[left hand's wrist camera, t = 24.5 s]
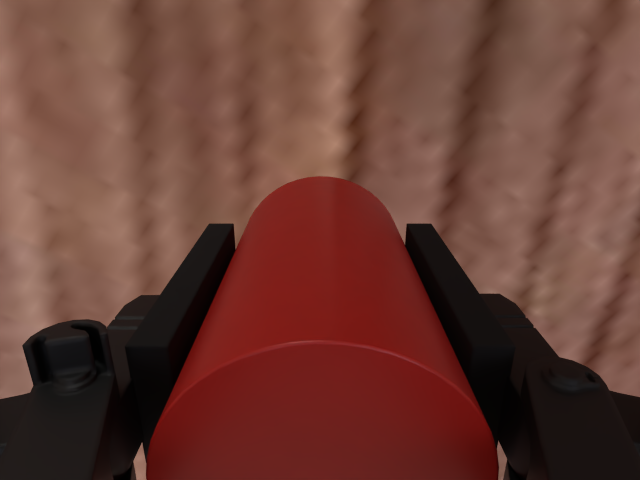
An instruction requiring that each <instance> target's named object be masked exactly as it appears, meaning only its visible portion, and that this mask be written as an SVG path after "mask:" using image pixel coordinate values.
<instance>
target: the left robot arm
mask: <svg viewBox="0 0 640 480" xmlns="http://www.w3.org/2000/svg"><path fill="white" fill-rule="evenodd" d="M405 247H406V249H407V251H408V253H409V255H410V257H411V260H412V262H413V264H414V266H415V268H416V270H417V272H418V275H419V277H420V279H421V281H422V283H423V285H424V288H425V290H426V292H427V294H428V296H429V298H430V301H431V303H432V305H433V307H434V309H435V311H436V313H437V316H438V318H439V320H440V322H441V324H442V326H443V329H444V331H445V333H446V335H447V337H448V339H449V341H450V344H451V346H452V348H453V350H454V352H455V354H456V357H457V359H458V361H459V363H460V365H461V367H462V370H463V372H464V374H465V376H466V378H467V380H468V382H469V385H470V387H471V389H472V391H473V393H474V395H475V398H476V400H477V402H478V404H479V406H480V408H481V410H482V413H483V415H484V417H485V419H486V421H487V423H488V426H489V428H490V430H491V432H492V435H493V439H494V442H495V445H496V449H497V445H498V440H499V442H500V444H501V447H502V449H503V451H504V453H505V455H506V457H507V463H506V468H505V473H504V478H503V480H640V397H636V396H631V395H626V394H621V393H617V392H613V391H609V389H608V387H607V385H606V384H605V382H604V381H603V380H602V379H601V377H600V376H599V375H598V374H596V373H595V372H594V371H592V370H591V369H589V368H588V367H586V366H584V365H582V364H579V363H577V362H575V361H572V360H568V359H564V358H560V357H559V356H558V355H557V354H556V353H555V352H554V350H553V349H552V348H551V347H550V345H549V344H548V343H547V342H546V340H545V339H544V338H543V337H542V336H541V334H540V333H539V332H538V331H537V329H536V328H534V327H533V324H532V323H531V322H530V321H529V320H528V318H526V317H525V315H524V313H523V312H522V311H521V310H520V308H519V307H518V306H517V305H516V304H515V303H514V302H512V301H510V300H509V299H507V298H505V297H504V296H502V295H501V294H479V293H478V291H477V290H476V288H475V287H474V285H473V284H472V282H471V281H470V280H469V278H468V277H467V275H466V274H465V272H464V271H463V269H462V268H461V266H460V265H459V264H458V262H457V261H456V259H455V258H454V256H453V255H452V253H451V252H450V250H449V249H448V248H447V246H446V245H445V243H444V242H443V240H442V239H441V237H440V236H439V234H438V233H437V232H436V230H435V229H434V227H433V226H432V224H407V227H406V241H405ZM234 253H235V237H234V224H209V225H208V226H207V228H206V229H205V231H204V232H203V233H202V235H201V236H200V238H199V239H198V241H197V242H196V244H195V245H194V247H193V248H192V249H191V251H190V252H189V254H188V255H187V257H186V258H185V260H184V261H183V263H182V264H181V265H180V267H179V268H178V270H177V271H176V273H175V274H174V276H173V277H172V278H171V280H170V281H169V283H168V284H167V286H166V287H165V289H164V290H163V292H162V293H161V294H160V295H141V296H139V297H137V298H136V299H134V300H133V301H131V302H129V303H128V304H126V305H125V306H124V307H123V308H122V309H121V311H120V312H119V313H118V314H117V316H116V317H115V320H113V321H112V322H111V323H110V324H109V326H108V327H107V328H106V326H105V325H103V324H102V323H101V322H99V321H94V320H89V319H87V320H72V321H67V322H62V323H58V324H55V325H53V326H50V327H47V328H45V329H42V330H41V331H39V332H38V333H36V334H34V335H33V336H31V337H30V338H29V339H28V340H27V341H26V342H25V343H24V344H23V345H22V346H23V350H24V353H25V357H26V360H27V364H28V367H29V371H30V374H31V378H32V382H33V385H34V386H33V388H32V390H31V392H30V393H27V394H23V395H19V396H14V397H9V398H4V399H0V480H136V474H135V468H134V463H133V460H134V458H135V456H136V454H137V452H138V449H139V447H140V445H141V443H143V448H144V454H145V459H146V463H147V454H148V449H149V445H150V440H151V438H152V435H153V433H154V430H155V428H156V426H157V423H158V421H159V419H160V417H161V414H162V412H163V410H164V408H165V406H166V403H167V401H168V399H169V397H170V394H171V392H172V390H173V388H174V386H175V383H176V381H177V379H178V377H179V374H180V372H181V370H182V368H183V366H184V363H185V361H186V359H187V357H188V355H189V352H190V350H191V348H192V346H193V343H194V341H195V339H196V337H197V335H198V332H199V330H200V328H201V326H202V324H203V321H204V319H205V317H206V315H207V312H208V310H209V308H210V306H211V304H212V301H213V299H214V297H215V295H216V293H217V290H218V288H219V286H220V284H221V281H222V279H223V277H224V275H225V273H226V270H227V268H228V266H229V264H230V262H231V259H232V257H233V255H234Z"/></svg>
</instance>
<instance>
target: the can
mask: <svg viewBox="0 0 640 480" xmlns="http://www.w3.org/2000/svg"><path fill="white" fill-rule="evenodd" d="M498 472H499V464H498V456H497V449H496V445H495V442H494V439H493V435H492V432H491V430H490V428H489V426H488V423H487V421H486V419H485V417H484V415H483V413H482V410H481V408H480V406H479V404H478V402H477V400H476V398H475V395H474V393H473V391H472V389H471V387H470V385H469V382H468V380H467V378H466V376H465V374H464V372H463V370H462V367H461V365H460V363H459V361H458V359H457V357H456V354H455V352H454V350H453V348H452V346H451V344H450V341H449V339H448V337H447V335H446V333H445V331H444V329H443V326H442V324H441V322H440V320H439V318H438V316H437V313H436V311H435V309H434V307H433V305H432V303H431V301H430V298H429V296H428V294H427V292H426V290H425V288H424V285H423V283H422V281H421V279H420V277H419V275H418V272H417V270H416V268H415V266H414V264H413V262H412V260H411V257H410V255H409V253H408V251H407V249H406V247H405V244H404V242H403V240H402V238H401V236H400V234H399V232H398V229H397V227H396V225H395V223H394V221H393V219H392V217H391V215H390V213H389V212H388V210H387V209H386V207H385V206H384V205H383V204H382V203H381V202H380V200H379V199H378V198H377V197H375V196H374V195H373V194H372V193H370V192H369V191H368V190H366V189H364V188H363V187H361V186H359V185H357V184H355V183H353V182H350V181H347V180H344V179H340V178H334V177H321V176H318V177H308V178H303V179H299V180H295V181H293V182H290V183H287V184H285V185H283V186H282V187H280V188H278V189H276V190H275V191H274V192H272V193H271V194H269V195H268V196H267V197H266V198H265V199H264V200H263V201H262V202H261V203H260V204H259V206H258V207H257V208H256V209H255V211H254V212H253V214H252V216H251V217H250V219H249V222H248V224H247V226H246V228H245V231H244V233H243V235H242V237H241V239H240V242H239V244H238V246H237V248H236V250H235V253H234V255H233V257H232V259H231V262H230V264H229V266H228V268H227V270H226V273H225V275H224V277H223V279H222V281H221V284H220V286H219V288H218V290H217V293H216V295H215V297H214V299H213V301H212V304H211V306H210V308H209V310H208V312H207V315H206V317H205V319H204V321H203V324H202V326H201V328H200V330H199V332H198V335H197V337H196V339H195V341H194V343H193V346H192V348H191V350H190V352H189V355H188V357H187V359H186V361H185V363H184V366H183V368H182V370H181V372H180V374H179V377H178V379H177V381H176V383H175V386H174V388H173V390H172V392H171V394H170V397H169V399H168V401H167V403H166V406H165V408H164V410H163V412H162V414H161V417H160V419H159V421H158V423H157V426H156V428H155V430H154V433H153V435H152V438H151V440H150V445H149V449H148V454H147V464H146V479H147V480H498Z"/></svg>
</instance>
